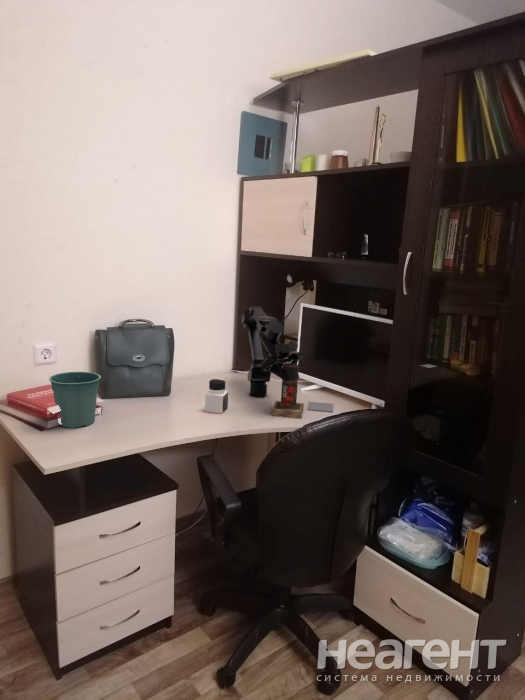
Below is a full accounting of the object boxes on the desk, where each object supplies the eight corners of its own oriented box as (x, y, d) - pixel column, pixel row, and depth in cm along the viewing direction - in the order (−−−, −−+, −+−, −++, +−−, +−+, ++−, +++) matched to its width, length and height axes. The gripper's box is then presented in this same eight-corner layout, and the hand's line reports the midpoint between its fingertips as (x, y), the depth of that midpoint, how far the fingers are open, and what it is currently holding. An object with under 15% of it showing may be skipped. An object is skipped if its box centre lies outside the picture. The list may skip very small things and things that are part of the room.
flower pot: (83, 411, 183) (81, 368, 179) (111, 421, 173) (110, 377, 170) (41, 422, 170) (38, 377, 166) (69, 434, 160) (67, 386, 157)
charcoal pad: (307, 410, 195) (307, 409, 195) (308, 402, 205) (308, 401, 205) (332, 412, 194) (332, 411, 194) (333, 404, 203) (333, 403, 203)
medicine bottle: (222, 414, 186) (223, 383, 184) (204, 412, 188) (205, 381, 185) (228, 408, 193) (229, 378, 191) (210, 406, 194) (211, 376, 192)
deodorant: (298, 402, 193) (300, 364, 189) (293, 406, 187) (296, 367, 184) (283, 399, 194) (285, 362, 191) (278, 404, 189) (281, 365, 186)
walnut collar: (271, 415, 187) (272, 409, 186) (275, 406, 197) (276, 400, 197) (301, 418, 185) (301, 412, 185) (303, 409, 196) (303, 403, 195)
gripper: (267, 336, 181) (288, 372, 176) (300, 331, 194) (321, 364, 189) (251, 353, 188) (271, 388, 183) (284, 347, 201) (303, 380, 196)
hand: (292, 379), depth 188 cm, fingers closed on deodorant, 6 cm apart
